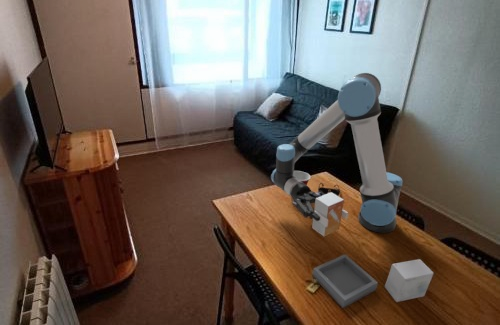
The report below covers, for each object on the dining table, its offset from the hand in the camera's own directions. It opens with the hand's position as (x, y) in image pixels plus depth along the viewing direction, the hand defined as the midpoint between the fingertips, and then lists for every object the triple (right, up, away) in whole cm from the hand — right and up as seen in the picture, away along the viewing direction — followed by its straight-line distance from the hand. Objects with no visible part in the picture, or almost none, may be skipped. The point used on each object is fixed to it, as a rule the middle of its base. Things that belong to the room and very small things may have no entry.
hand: (337, 219), depth 103 cm
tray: (+1, -20, -4) cm, 21 cm away
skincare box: (+20, -22, -7) cm, 31 cm away
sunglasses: (+10, +5, +49) cm, 51 cm away
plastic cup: (-7, +3, +45) cm, 45 cm away
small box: (-2, -5, +7) cm, 9 cm away
